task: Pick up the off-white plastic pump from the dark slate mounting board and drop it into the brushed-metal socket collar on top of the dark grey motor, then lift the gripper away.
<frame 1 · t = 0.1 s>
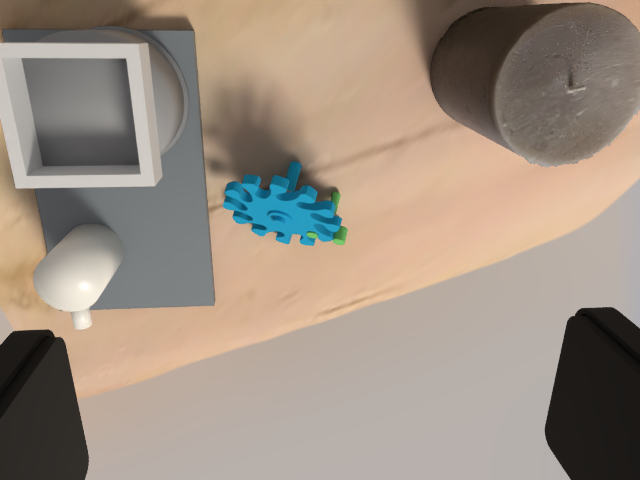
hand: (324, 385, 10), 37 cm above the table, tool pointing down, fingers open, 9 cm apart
motor stand: (123, 180, 45), on the table
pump: (94, 249, 46), point 1 cm above the table, touching motor stand
gear: (286, 200, 47), on the table
pillar candle: (484, 71, 44), on the table
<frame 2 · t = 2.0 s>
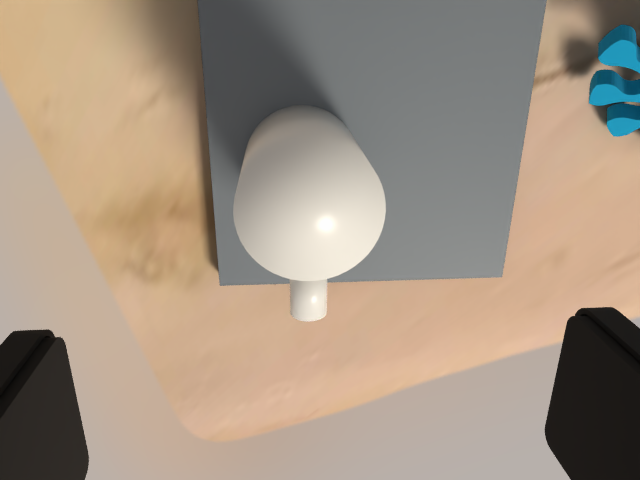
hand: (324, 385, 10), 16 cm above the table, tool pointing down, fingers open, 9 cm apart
motor stand: (371, 15, 22), on the table
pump: (301, 162, 23), point 1 cm above the table, touching motor stand
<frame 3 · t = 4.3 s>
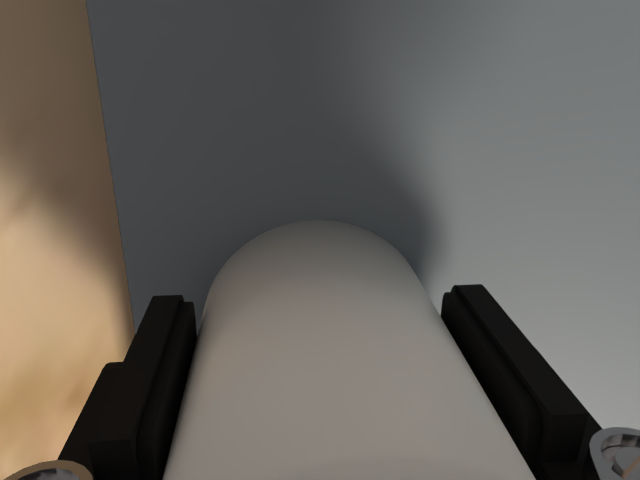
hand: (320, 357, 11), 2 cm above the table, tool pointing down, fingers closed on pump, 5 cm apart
motor stand: (457, 39, 11), on the table
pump: (315, 323, 12), point 1 cm above the table, touching gripper, motor stand
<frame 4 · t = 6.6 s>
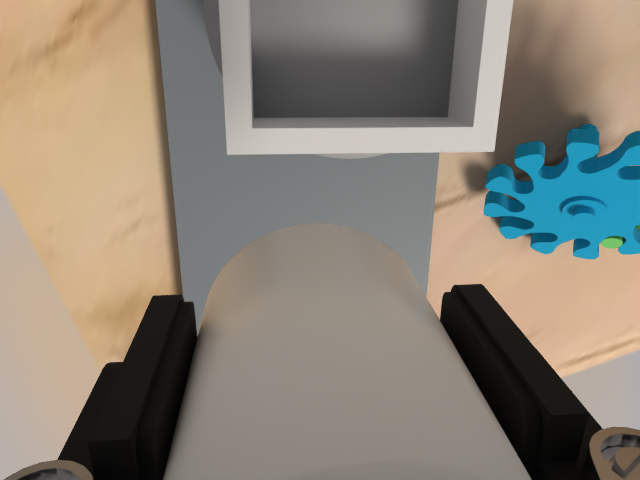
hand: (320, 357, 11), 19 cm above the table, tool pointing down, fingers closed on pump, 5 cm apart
motor stand: (306, 161, 28), on the table
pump: (315, 326, 12), point 17 cm above the table, touching gripper
gear: (552, 186, 30), on the table
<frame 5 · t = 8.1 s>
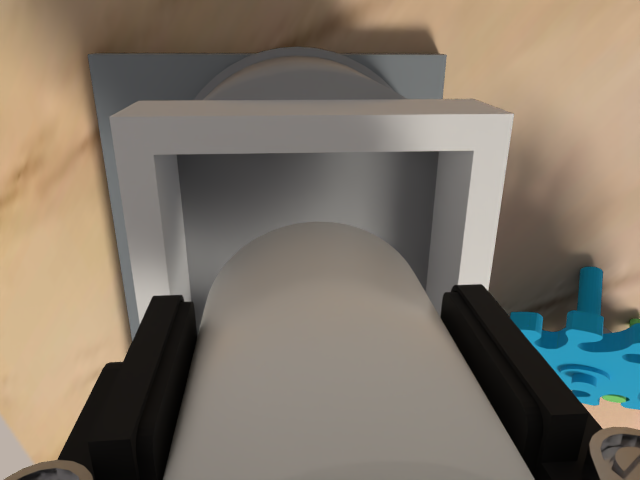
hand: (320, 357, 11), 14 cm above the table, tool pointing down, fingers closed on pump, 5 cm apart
motor stand: (279, 309, 26), on the table
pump: (315, 325, 12), point 13 cm above the table, touching gripper
gear: (551, 322, 28), on the table
when the fingers open (12 cm above the table, at t = 9.2 s): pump drops 2 cm, resting on motor stand.
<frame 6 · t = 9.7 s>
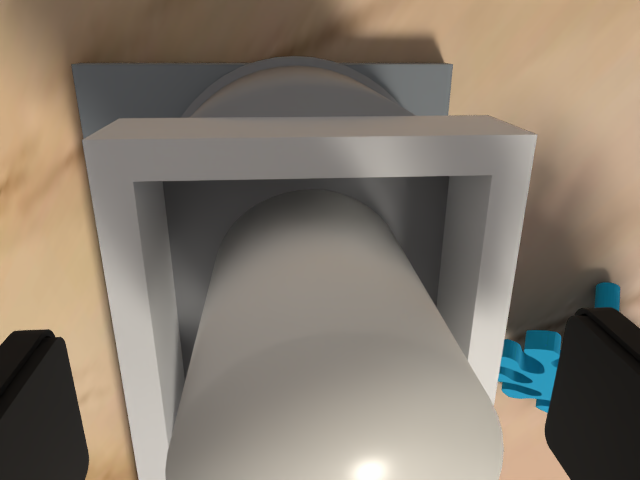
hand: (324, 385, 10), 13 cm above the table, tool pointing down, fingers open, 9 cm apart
motor stand: (276, 330, 25), on the table
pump: (309, 280, 14), point 9 cm above the table, touching motor stand
gear: (564, 340, 27), on the table
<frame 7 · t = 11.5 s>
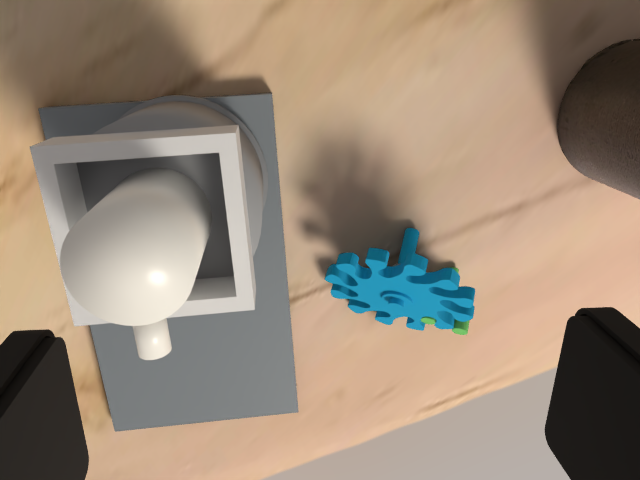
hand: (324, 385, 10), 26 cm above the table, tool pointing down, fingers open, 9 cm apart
motor stand: (187, 274, 37), on the table
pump: (161, 216, 26), point 9 cm above the table, touching motor stand
gear: (392, 272, 39), on the table
pillar candle: (622, 115, 36), on the table
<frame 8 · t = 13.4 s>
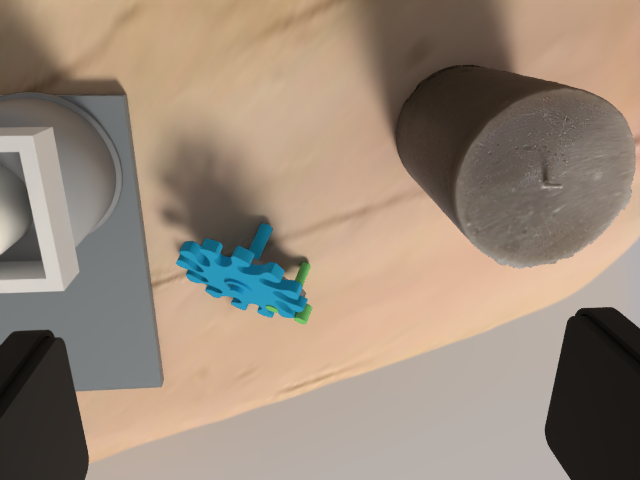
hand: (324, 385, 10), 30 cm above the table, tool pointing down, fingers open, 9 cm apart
motor stand: (54, 255, 40), on the table
gear: (250, 262, 42), on the table
pillar candle: (457, 133, 39), on the table
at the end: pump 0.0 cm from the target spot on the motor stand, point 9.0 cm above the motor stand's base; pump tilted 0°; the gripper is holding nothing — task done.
